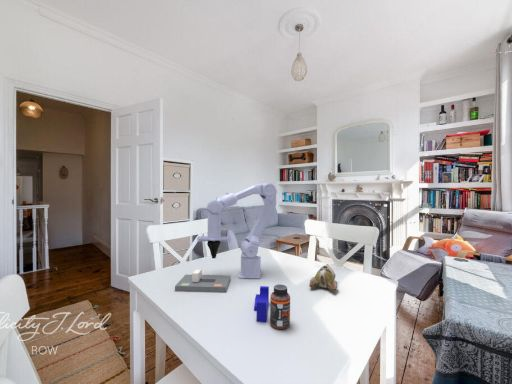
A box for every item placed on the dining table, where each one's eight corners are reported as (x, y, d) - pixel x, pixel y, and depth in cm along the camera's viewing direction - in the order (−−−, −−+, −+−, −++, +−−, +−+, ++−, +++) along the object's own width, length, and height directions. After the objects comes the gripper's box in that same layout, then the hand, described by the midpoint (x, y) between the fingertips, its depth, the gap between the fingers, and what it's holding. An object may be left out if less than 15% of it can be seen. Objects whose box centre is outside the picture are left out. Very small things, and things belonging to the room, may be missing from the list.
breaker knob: (201, 277, 100) (201, 269, 99) (198, 282, 95) (198, 273, 94) (195, 277, 100) (195, 269, 100) (192, 282, 95) (192, 273, 95)
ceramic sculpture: (340, 262, 101) (335, 275, 88) (340, 281, 102) (336, 298, 88) (315, 258, 106) (307, 271, 92) (315, 277, 107) (307, 292, 93)
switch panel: (230, 280, 103) (230, 275, 103) (225, 292, 91) (226, 287, 91) (185, 279, 103) (185, 274, 103) (175, 291, 91) (175, 285, 91)
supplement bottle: (284, 333, 66) (285, 293, 66) (266, 326, 69) (266, 288, 69) (293, 322, 71) (293, 285, 71) (275, 316, 74) (275, 281, 74)
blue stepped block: (256, 302, 83) (256, 285, 83) (268, 303, 83) (268, 286, 83) (251, 321, 72) (251, 302, 71) (266, 322, 71) (266, 303, 71)
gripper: (195, 228, 100) (195, 260, 100) (229, 229, 99) (229, 260, 99) (199, 225, 107) (199, 255, 107) (231, 226, 106) (231, 256, 106)
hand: (214, 257), depth 104 cm, fingers closed
